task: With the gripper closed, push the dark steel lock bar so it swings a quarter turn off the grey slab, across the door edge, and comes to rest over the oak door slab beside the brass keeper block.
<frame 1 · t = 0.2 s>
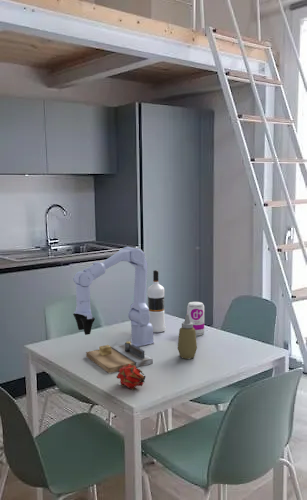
hand: (84, 331, 201), 10 cm above the table, tool pointing down, fingers open, 7 cm apart
lock bar: (134, 349, 196), point 4 cm above the table, hinge at 90.0°
dragon fruit: (131, 386, 170), on the table
squeeze bottle: (187, 357, 199), on the table
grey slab: (122, 359, 197), on the table
supplement can: (195, 334, 231), on the table
vodka: (156, 330, 237), on the table
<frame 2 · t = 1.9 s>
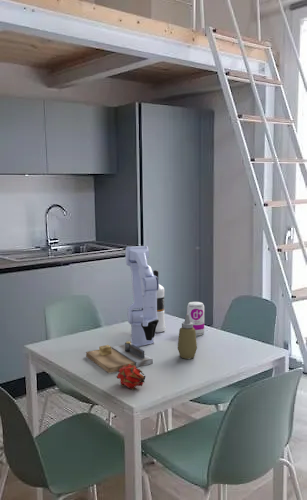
hand: (150, 338, 197), 8 cm above the table, tool pointing down, fingers open, 3 cm apart
nothing on the table moved.
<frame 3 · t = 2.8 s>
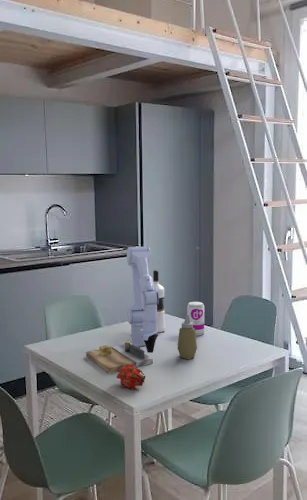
hand: (150, 352, 197), 3 cm above the table, tool pointing down, fingers closed
nothing on the table moved.
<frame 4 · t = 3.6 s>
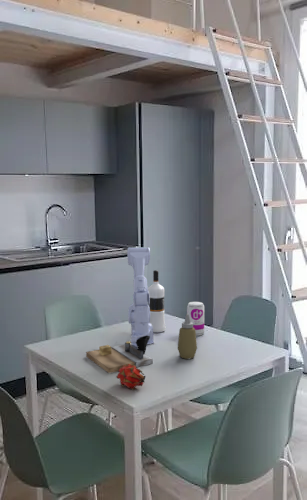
hand: (142, 353, 195), 3 cm above the table, tool pointing down, fingers closed
lock bar: (134, 349, 196), point 4 cm above the table, hinge at 87.2°, touching gripper
everything else where it was.
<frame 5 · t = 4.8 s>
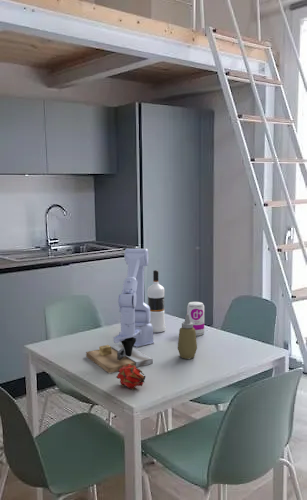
hand: (128, 355, 193), 3 cm above the table, tool pointing down, fingers closed, pressing on lock bar
lock bar: (124, 350, 195), point 4 cm above the table, hinge at 42.3°, touching gripper
everything else where it was.
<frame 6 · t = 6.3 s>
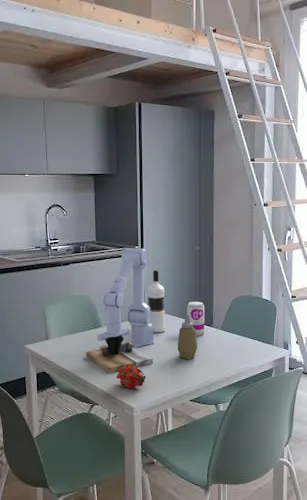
hand: (114, 354, 195), 3 cm above the table, tool pointing down, fingers closed
lock bar: (117, 348, 198), point 4 cm above the table, hinge at -2.6°, touching gripper, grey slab
everything else where it was.
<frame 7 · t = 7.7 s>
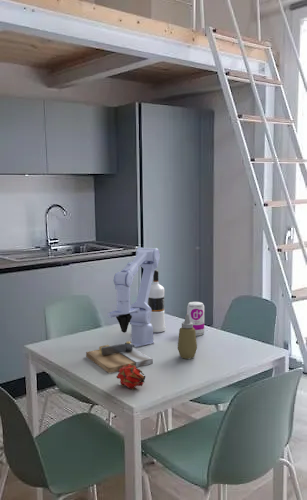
hand: (124, 331, 203), 9 cm above the table, tool pointing down, fingers closed
lock bar: (117, 348, 198), point 4 cm above the table, hinge at -2.5°, touching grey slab
everything else where it was.
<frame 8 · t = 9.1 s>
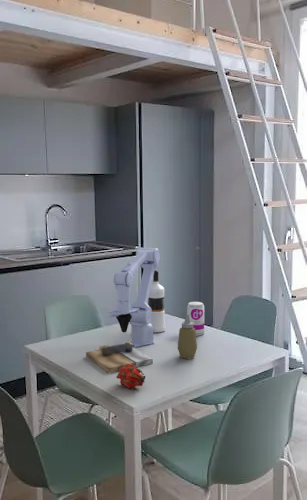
hand: (124, 331, 203), 9 cm above the table, tool pointing down, fingers closed
nothing on the table moved.
at the end: lock bar at -2° (first picture: +90°); dragon fruit moved 0.3 cm from its start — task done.
